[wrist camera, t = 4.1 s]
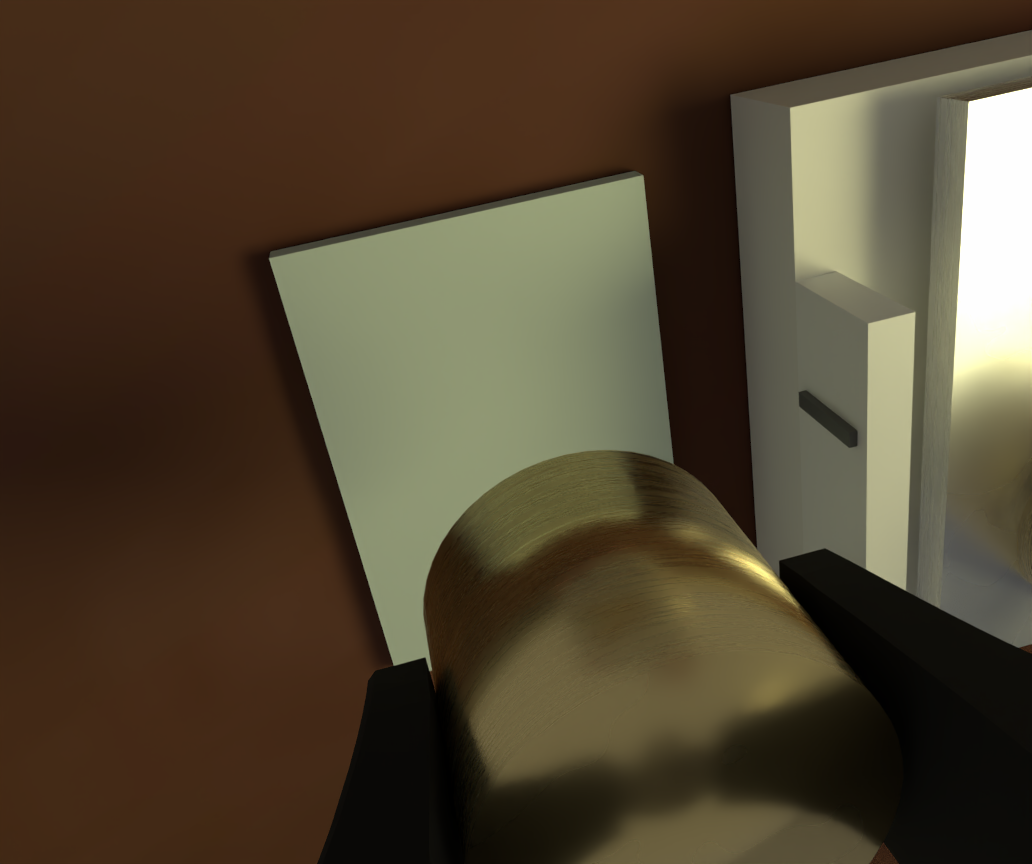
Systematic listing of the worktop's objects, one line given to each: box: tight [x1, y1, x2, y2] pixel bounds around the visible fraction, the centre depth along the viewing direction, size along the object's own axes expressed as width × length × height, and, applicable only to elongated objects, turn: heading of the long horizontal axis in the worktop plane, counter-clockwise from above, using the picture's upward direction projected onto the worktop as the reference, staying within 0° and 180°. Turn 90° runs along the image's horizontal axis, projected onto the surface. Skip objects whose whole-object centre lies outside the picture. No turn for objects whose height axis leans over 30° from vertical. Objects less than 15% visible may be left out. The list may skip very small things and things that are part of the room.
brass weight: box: [423, 450, 903, 864], centre depth 10 cm, size 4×4×4 cm
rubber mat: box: [269, 171, 674, 671], centre depth 19 cm, size 10×7×1 cm
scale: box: [730, 30, 1032, 596], centre depth 18 cm, size 12×10×5 cm
